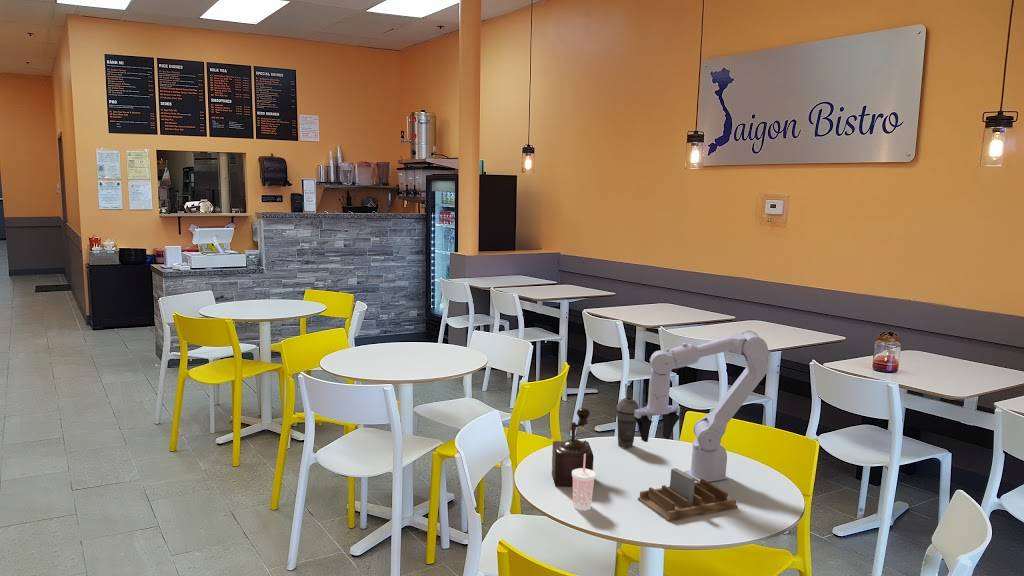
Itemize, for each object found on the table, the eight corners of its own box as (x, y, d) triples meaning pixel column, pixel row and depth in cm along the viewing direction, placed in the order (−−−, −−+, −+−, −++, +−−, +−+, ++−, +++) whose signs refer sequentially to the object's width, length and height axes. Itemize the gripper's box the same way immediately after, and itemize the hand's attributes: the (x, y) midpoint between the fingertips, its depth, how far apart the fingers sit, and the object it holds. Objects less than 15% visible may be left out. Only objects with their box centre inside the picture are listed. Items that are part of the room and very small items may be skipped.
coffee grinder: (595, 487, 194) (599, 424, 191) (554, 487, 193) (557, 423, 191) (586, 465, 209) (590, 406, 207) (548, 464, 209) (551, 405, 206)
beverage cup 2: (631, 451, 222) (635, 389, 219) (609, 446, 225) (613, 384, 223) (640, 445, 228) (644, 384, 225) (619, 440, 232) (623, 380, 229)
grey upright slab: (673, 496, 189) (675, 467, 188) (692, 507, 183) (695, 477, 182) (669, 497, 188) (671, 469, 187) (688, 508, 182) (690, 478, 181)
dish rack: (704, 487, 197) (705, 475, 196) (737, 508, 185) (738, 494, 185) (637, 499, 188) (638, 486, 187) (668, 521, 176) (669, 507, 176)
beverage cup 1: (598, 506, 183) (601, 454, 181) (584, 514, 178) (588, 460, 176) (578, 499, 187) (581, 447, 185) (565, 506, 182) (567, 453, 180)
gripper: (670, 387, 209) (667, 431, 211) (629, 391, 203) (626, 437, 205) (686, 394, 203) (682, 440, 205) (644, 398, 197) (640, 446, 199)
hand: (655, 439), depth 205 cm, fingers open, 7 cm apart
